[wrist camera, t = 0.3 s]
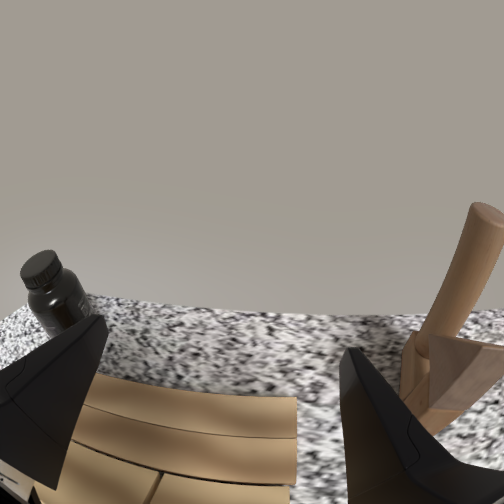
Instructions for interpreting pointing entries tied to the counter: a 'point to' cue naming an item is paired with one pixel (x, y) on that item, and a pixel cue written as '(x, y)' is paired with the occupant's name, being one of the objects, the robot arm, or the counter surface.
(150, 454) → the laid floor row
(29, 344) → the counter surface
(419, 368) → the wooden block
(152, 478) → the oak plank
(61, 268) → the supplement bottle
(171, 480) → the oak plank
